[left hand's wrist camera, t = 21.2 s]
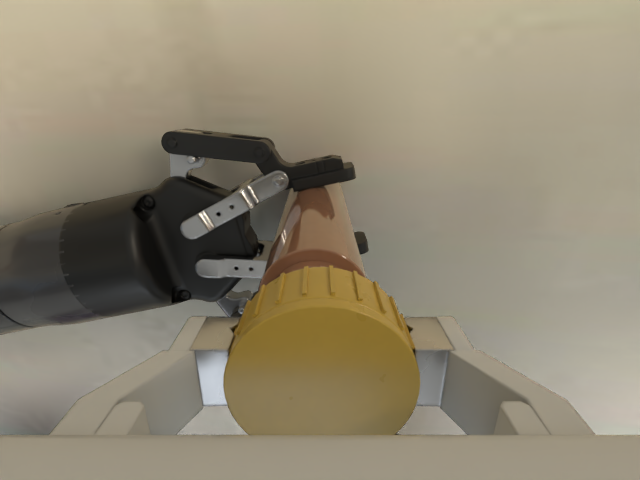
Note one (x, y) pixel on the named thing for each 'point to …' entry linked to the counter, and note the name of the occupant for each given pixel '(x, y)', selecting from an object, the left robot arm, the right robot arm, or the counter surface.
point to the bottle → (313, 234)
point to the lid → (321, 358)
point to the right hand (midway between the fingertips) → (358, 206)
